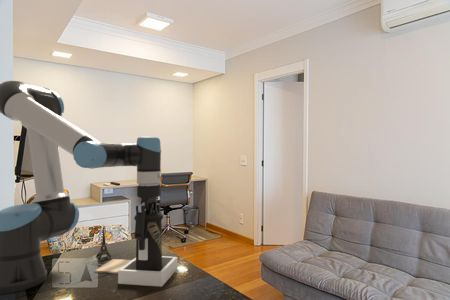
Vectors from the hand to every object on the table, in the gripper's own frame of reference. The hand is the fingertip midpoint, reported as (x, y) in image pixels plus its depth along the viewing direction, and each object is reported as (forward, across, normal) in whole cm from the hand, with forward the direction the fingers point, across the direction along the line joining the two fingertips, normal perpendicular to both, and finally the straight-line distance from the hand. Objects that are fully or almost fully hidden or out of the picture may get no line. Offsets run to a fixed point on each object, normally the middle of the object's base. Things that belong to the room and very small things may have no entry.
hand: (148, 254), depth 96 cm
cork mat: (+7, +6, +14) cm, 16 cm away
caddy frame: (+7, 0, 0) cm, 7 cm away
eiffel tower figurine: (+8, +14, +25) cm, 30 cm away
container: (+6, 0, 0) cm, 6 cm away
